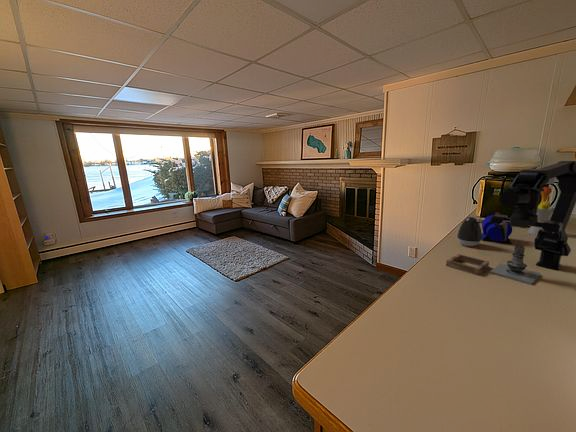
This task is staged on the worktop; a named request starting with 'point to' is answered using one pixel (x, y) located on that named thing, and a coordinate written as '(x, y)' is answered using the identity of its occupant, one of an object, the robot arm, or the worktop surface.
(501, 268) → the slate coaster
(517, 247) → the salt shaker
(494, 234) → the alarm clock
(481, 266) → the walnut holder
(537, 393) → the worktop surface
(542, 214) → the lava lamp
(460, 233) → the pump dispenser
